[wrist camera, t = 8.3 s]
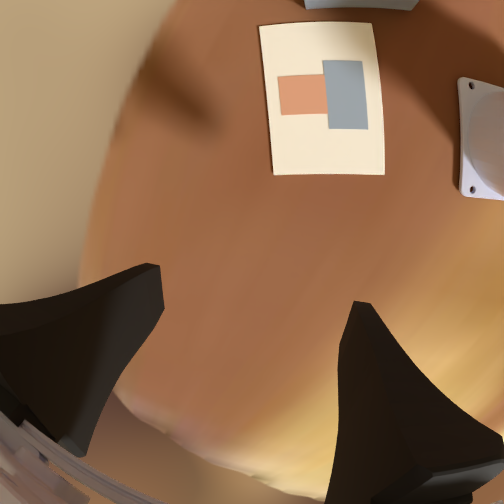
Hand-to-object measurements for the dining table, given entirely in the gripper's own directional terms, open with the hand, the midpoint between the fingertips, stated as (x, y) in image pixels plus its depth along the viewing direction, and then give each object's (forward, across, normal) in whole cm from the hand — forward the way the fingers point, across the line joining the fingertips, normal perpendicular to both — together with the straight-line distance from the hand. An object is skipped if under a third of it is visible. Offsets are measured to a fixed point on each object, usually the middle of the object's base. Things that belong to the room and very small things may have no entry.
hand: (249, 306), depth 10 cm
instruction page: (+10, -2, -8) cm, 13 cm away
